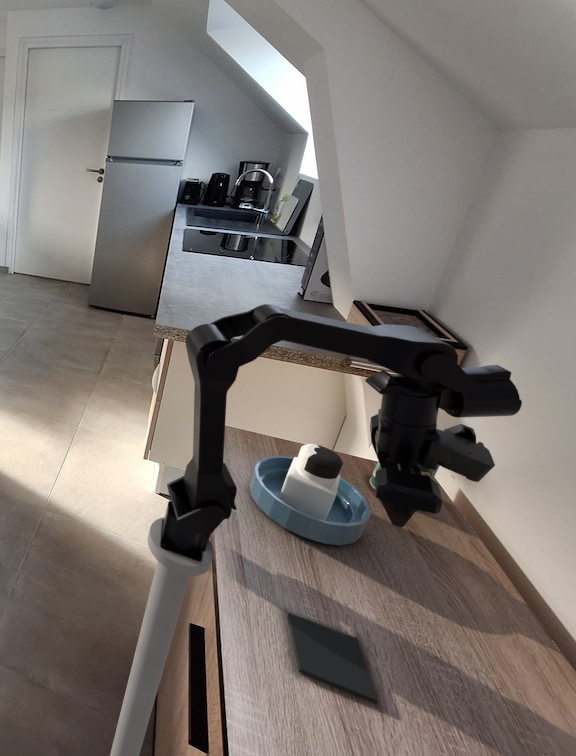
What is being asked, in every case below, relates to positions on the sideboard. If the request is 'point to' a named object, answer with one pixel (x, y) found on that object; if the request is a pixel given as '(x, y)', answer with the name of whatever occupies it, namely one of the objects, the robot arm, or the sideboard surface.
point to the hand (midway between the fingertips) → (394, 504)
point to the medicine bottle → (312, 481)
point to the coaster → (330, 657)
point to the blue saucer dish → (337, 529)
